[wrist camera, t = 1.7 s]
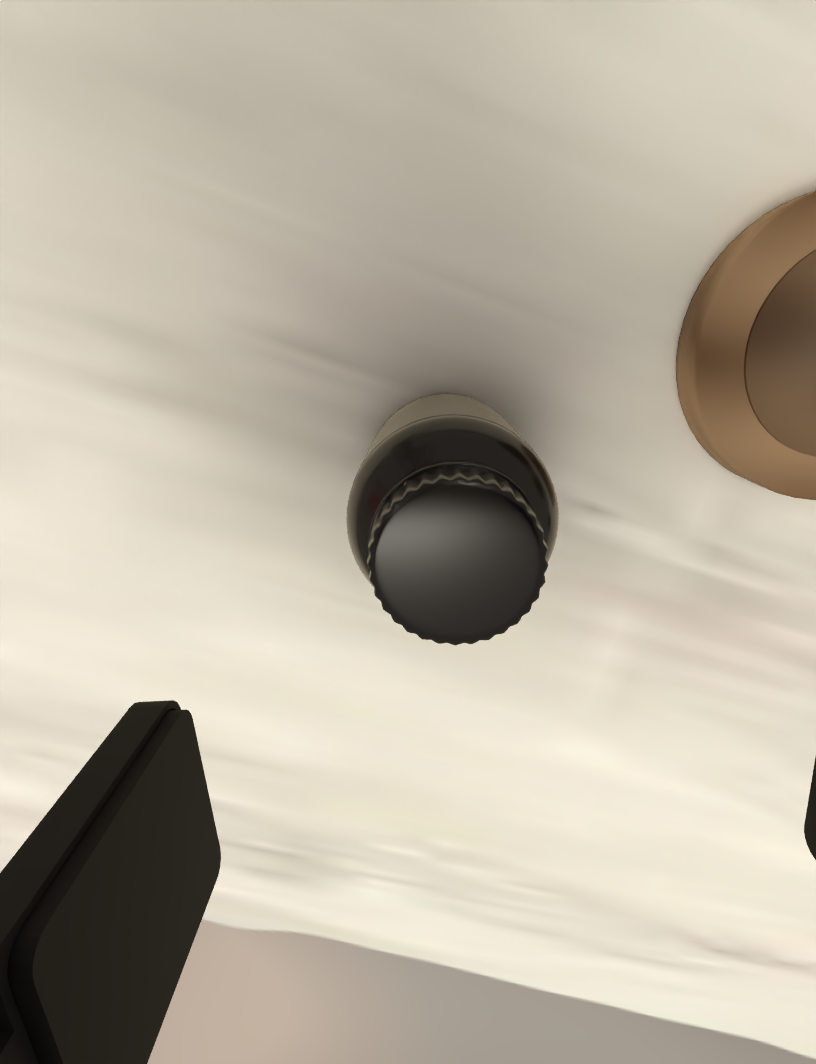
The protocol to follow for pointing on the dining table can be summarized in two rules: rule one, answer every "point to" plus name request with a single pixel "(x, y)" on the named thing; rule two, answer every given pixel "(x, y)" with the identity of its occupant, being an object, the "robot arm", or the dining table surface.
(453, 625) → the supplement bottle
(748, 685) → the dining table surface
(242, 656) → the dining table surface
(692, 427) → the stand
